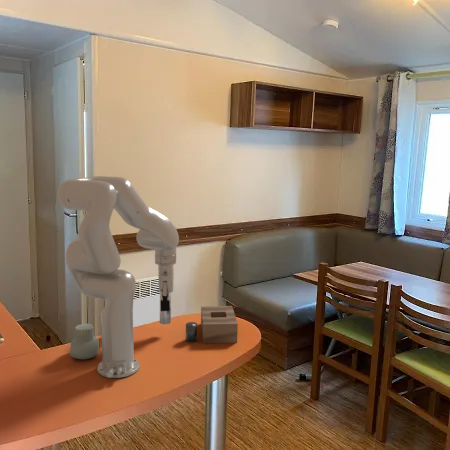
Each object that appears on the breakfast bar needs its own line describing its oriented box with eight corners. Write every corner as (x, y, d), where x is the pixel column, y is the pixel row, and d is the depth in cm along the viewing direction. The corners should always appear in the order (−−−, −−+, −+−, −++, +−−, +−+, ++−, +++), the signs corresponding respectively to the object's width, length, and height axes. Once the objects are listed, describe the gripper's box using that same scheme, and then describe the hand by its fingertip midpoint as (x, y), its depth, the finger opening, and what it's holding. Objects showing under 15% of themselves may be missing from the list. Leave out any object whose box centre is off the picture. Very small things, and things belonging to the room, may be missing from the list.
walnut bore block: (237, 342, 166) (237, 323, 165) (203, 343, 165) (203, 324, 164) (231, 323, 183) (232, 305, 182) (201, 323, 182) (201, 306, 181)
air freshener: (74, 349, 159) (73, 321, 157) (99, 347, 160) (98, 320, 159) (69, 364, 148) (68, 334, 147) (96, 362, 150) (95, 332, 148)
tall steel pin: (170, 324, 169) (170, 291, 167) (159, 324, 169) (159, 291, 167) (170, 320, 173) (171, 288, 171) (159, 320, 172) (160, 288, 171)
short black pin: (197, 342, 166) (197, 326, 164) (186, 342, 165) (185, 326, 164) (197, 337, 169) (197, 321, 168) (185, 338, 169) (185, 322, 168)
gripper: (176, 264, 159) (175, 316, 162) (176, 254, 176) (175, 301, 179) (153, 264, 159) (153, 316, 161) (156, 254, 175) (156, 301, 178)
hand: (165, 308), depth 170 cm, fingers closed on tall steel pin, 4 cm apart
